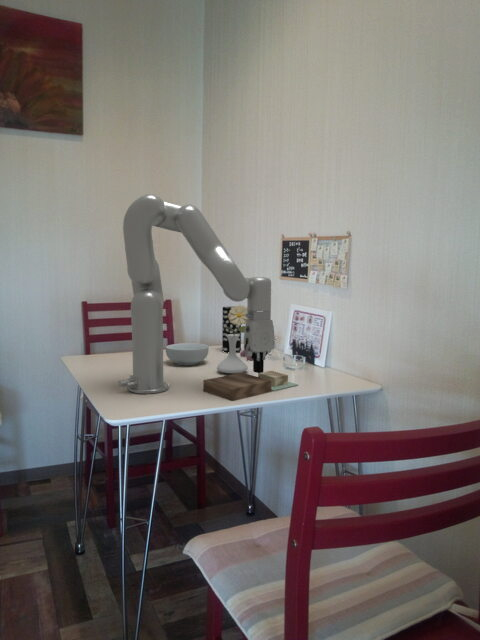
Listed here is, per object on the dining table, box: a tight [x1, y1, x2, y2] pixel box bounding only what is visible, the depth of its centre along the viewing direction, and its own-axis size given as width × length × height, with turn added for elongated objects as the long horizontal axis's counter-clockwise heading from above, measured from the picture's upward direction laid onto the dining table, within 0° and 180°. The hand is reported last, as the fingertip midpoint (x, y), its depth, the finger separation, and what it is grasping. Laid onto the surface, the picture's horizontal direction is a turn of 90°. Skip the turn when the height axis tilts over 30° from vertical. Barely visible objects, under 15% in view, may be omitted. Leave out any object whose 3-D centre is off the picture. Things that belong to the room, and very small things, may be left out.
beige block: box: [257, 370, 289, 387], centre depth 161 cm, size 6×8×3 cm
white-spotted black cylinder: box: [221, 306, 242, 353], centre depth 217 cm, size 8×8×20 cm
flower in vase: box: [216, 304, 249, 375], centre depth 175 cm, size 13×11×25 cm
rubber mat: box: [271, 381, 299, 393], centre depth 161 cm, size 12×15×1 cm
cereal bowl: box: [165, 342, 210, 366], centre depth 192 cm, size 17×17×7 cm
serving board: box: [203, 372, 272, 401], centre depth 151 cm, size 16×14×4 cm
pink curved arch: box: [239, 349, 253, 361], centre depth 203 cm, size 10×5×7 cm, turn 18°
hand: (258, 372), depth 157 cm, fingers closed
